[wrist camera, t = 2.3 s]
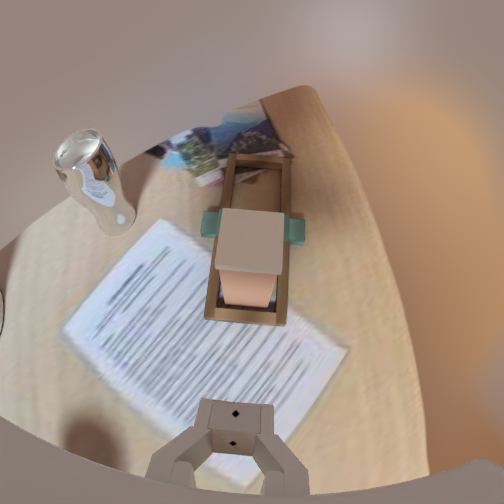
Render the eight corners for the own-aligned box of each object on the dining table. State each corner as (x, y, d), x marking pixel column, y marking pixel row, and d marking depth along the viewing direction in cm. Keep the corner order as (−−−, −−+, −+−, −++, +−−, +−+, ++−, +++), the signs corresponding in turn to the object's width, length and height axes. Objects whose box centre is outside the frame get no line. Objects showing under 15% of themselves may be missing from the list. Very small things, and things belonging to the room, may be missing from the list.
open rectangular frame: (189, 317, 35) (186, 314, 33) (216, 159, 45) (216, 152, 44) (300, 327, 35) (303, 324, 33) (301, 166, 45) (303, 159, 44)
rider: (223, 306, 35) (214, 264, 24) (228, 264, 38) (222, 207, 26) (268, 310, 35) (282, 270, 24) (271, 268, 38) (284, 213, 26)
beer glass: (126, 191, 43) (93, 118, 29) (147, 219, 40) (112, 145, 27) (90, 216, 40) (45, 150, 27) (107, 248, 38) (57, 182, 25)
